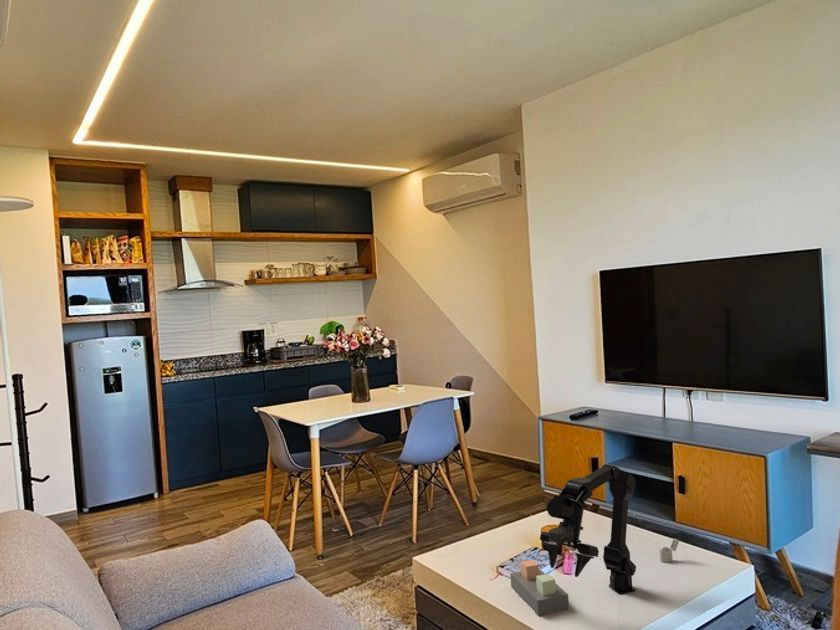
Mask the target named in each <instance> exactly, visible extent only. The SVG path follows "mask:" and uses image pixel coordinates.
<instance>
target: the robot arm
mask: <svg viewBox="0 0 840 630" xmlns="http://www.w3.org/2000/svg"><path fill="white" fill-rule="evenodd" d="M606 483H608V487H609V488H608V489H609V491H610V495H611V496H612V500H613V501H612V512H611V513H612V516H611V528H610V530H611V532H610V540H609V542H608V543H607V545H604V547H603V556H602V558H603V563H604V565H605V568H606V570H608V571H610V575H609V584H608V587H609V588H611V590H613V591H614V592H616V593H617V594H618V595H622V594H627V593H630V592H631V593H632V592H635V591H636V588H634V587H633V577H632V576H634V575H635V573H636V571H637V565H636V564H635V563H634V562H633V561H632V560H631V551H630V550H629V547H628V546H627V541H626V539H627V527H628V510H629V501H630V499H631V498H632V496H633V495H634V493H635V487H636V479H635V478H634V476H633V475H632V474H629V473H627V472H625V471H624V470H622V469H620V467H618V466H616V465H611V464H607V463H606V464H602V465H601V467H599V468H598V469H595V471H592V472H590V473H589V474H588V475H586V476H584V477H575V478H571V479H568V480H567V481H566V483H565V485H564V486H563V487H562V489H561V490H560V492H559V493H558V494H554V496H553V498H551V499H550V500H548V502H547V505H546V511H547V513H548V515H549V517H552V518H556V519H560V520H562V521H559V523H558V526H557V527H553V528H550V529H548V531H544V530H542V532H541V533H540V536H539V540H540V541H542V544H543V545H544V546H545V547H546V549H547V553H548V558H549V564H550V569H554V568H555V565H556V562H557V558H558V554H559V551H560V547H561V545H562V546H565V547H568V548H570V549H571V548H572V549H574V550H577V552H578V553H577V552H576V553H575V555H576V565H575V570H574V577H575V578H578V577H579V576H580V575H581V572H582V571H583V569H585V567H586V566H587V564H588V563H589V562H590V561H591V560H592V559H594V558H595V557H596V558H598V557H599V553H600V552H599V551H600V550H599V548H598V546H595V545H592V544H589V543H584V542H582V540H581V539H580V535H581V531H583V530H584V526H582V522H583V515H584V509H585V510H588V508H589V506H588V505H587V503H586V501H588V500H589V499H590V498H591V497H592V496H593V495H594V494H593V493H594V491H595V490H596V489H597V488H599V487H601V486H603V485H604V484H606Z"/></svg>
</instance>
